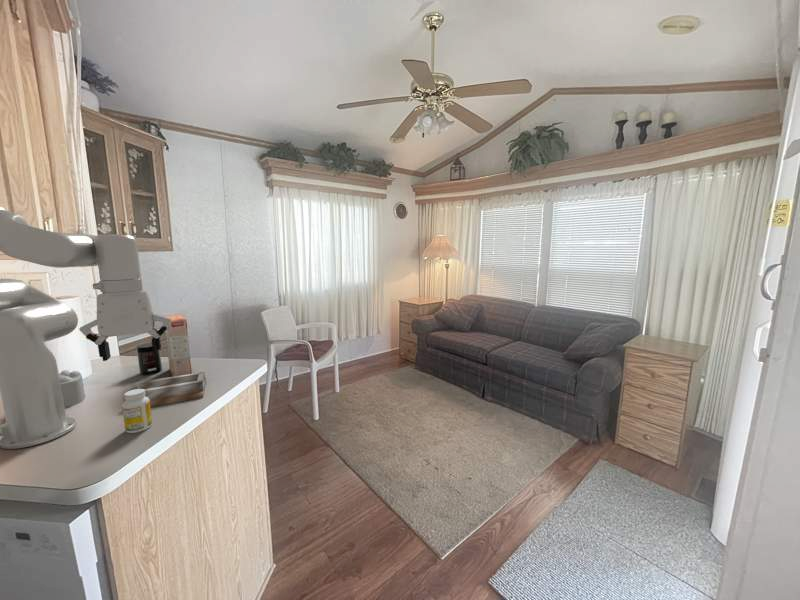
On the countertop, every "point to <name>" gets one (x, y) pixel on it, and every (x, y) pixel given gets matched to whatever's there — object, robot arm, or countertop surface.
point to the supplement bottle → (136, 411)
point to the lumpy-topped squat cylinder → (71, 387)
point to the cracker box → (178, 346)
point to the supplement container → (148, 359)
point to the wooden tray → (174, 388)
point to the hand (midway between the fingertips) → (132, 356)
